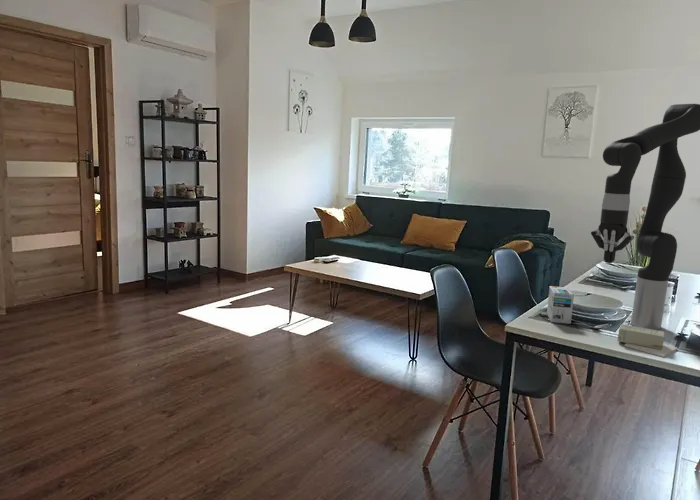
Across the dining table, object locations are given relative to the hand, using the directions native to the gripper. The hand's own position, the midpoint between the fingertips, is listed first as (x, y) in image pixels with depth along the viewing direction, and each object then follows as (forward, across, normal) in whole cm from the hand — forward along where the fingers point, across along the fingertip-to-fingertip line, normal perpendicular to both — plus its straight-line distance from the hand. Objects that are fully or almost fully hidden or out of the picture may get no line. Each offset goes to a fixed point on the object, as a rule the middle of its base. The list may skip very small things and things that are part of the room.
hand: (608, 262), depth 165 cm
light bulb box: (+24, +17, -5) cm, 30 cm away
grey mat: (+24, -15, -3) cm, 29 cm away
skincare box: (+22, -6, 0) cm, 22 cm away
